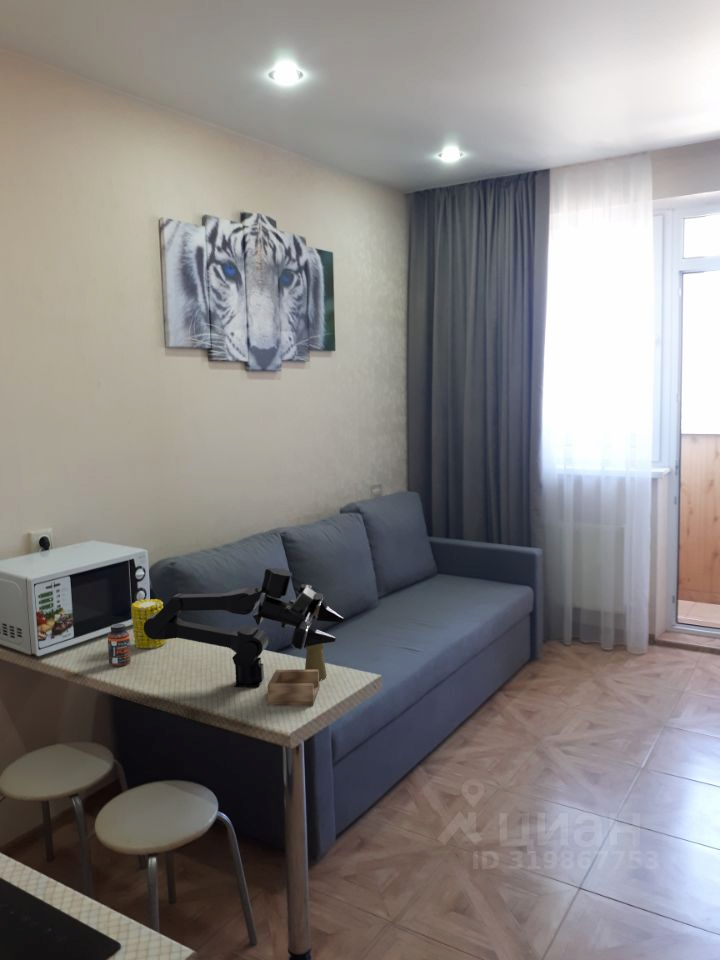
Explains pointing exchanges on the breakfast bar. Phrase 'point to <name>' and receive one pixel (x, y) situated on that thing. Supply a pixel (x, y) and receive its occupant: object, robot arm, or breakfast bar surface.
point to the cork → (316, 659)
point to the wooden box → (293, 687)
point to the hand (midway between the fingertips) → (339, 629)
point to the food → (140, 615)
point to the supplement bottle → (119, 646)
